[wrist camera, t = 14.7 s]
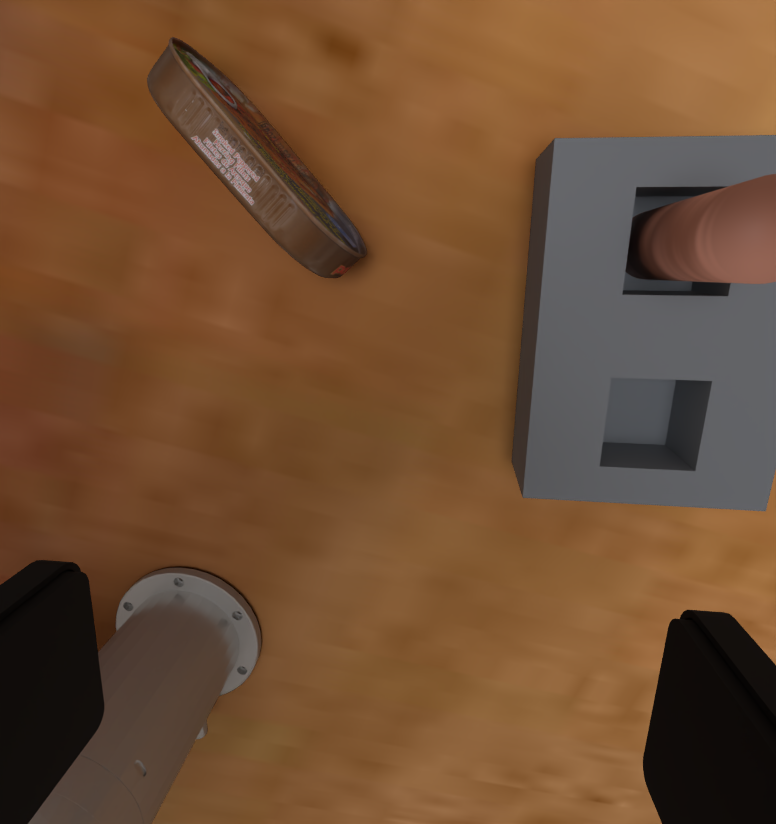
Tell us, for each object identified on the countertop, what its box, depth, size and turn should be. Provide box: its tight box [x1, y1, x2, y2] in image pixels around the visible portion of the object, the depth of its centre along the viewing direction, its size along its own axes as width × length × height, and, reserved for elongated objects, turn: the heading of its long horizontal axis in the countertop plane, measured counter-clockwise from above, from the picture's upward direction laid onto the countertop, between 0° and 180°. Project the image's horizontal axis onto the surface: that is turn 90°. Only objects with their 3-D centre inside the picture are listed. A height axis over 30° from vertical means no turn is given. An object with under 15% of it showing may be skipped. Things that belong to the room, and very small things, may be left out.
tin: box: [147, 37, 367, 278], centre depth 30 cm, size 15×3×8 cm, turn 41°
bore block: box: [512, 135, 776, 511], centre depth 32 cm, size 20×14×6 cm
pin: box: [625, 174, 776, 284], centre depth 26 cm, size 4×4×12 cm
